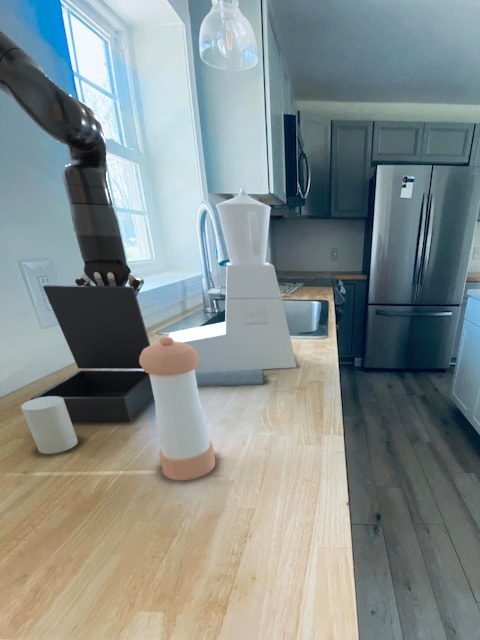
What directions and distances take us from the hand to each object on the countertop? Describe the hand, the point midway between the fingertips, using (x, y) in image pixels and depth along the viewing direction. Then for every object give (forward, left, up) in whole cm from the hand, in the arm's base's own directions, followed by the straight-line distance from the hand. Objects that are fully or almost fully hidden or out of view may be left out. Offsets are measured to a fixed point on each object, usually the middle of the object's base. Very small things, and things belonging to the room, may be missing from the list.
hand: (120, 326), depth 77 cm
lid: (0, -7, +1) cm, 7 cm away
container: (0, -29, -13) cm, 32 cm away
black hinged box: (0, -13, -13) cm, 19 cm away
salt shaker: (+22, -35, -13) cm, 44 cm away
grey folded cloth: (+18, +1, -13) cm, 22 cm away
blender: (+19, +17, -13) cm, 29 cm away
